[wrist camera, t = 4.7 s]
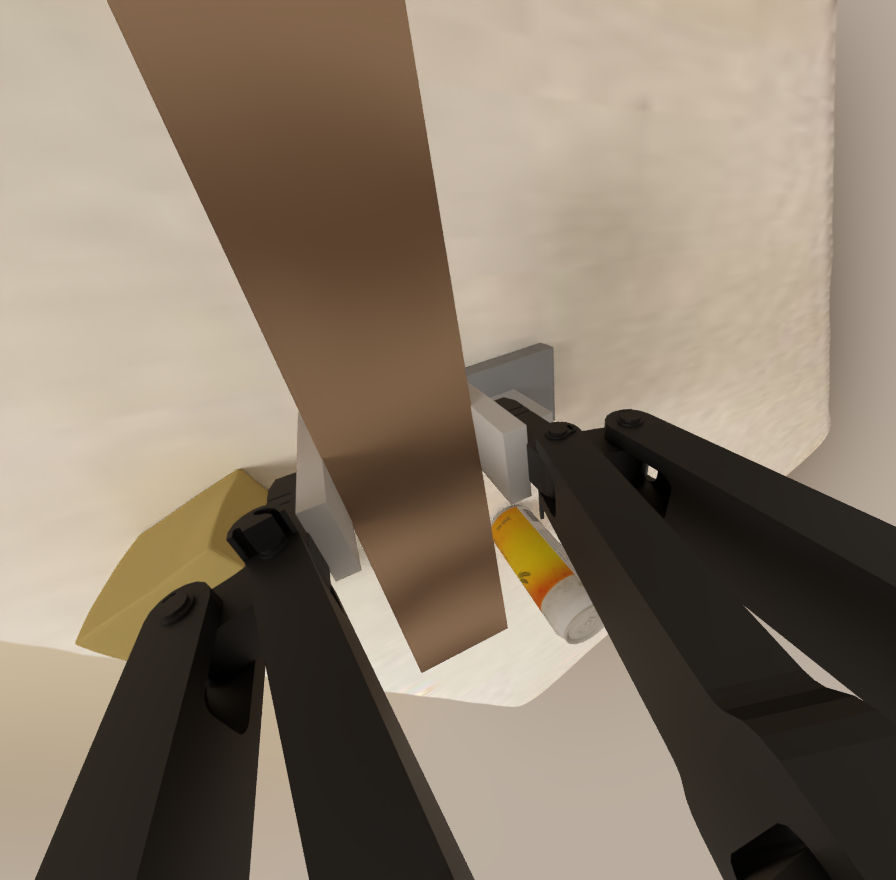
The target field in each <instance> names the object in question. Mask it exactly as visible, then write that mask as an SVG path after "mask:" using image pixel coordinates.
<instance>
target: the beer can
mask: <svg viewBox="0 0 896 880" xmlns="http://www.w3.org/2000/svg"><path fill="white" fill-rule="evenodd" d="M491 529H492V535H493V541H494V543H495V544H496V546H497V547H498V549H499V550H500V551H501V553H502V554H503V556H504V557H505V559H506V560H507V562H508V563H509V565H510V566H511V568H512V569H513V571H514V572H515V574H516V575H517V577H518V578H519V579H520V581H521V582H522V584H523V585H524V587H525V588H526V590H527V591H528V593H529V594H530V596H531V597H532V599H533V600H534V602H535V603H536V605H537V606H538V607H539V609H540V610H541V612H542V613H543V615H544V616H545V618H546V619H547V621H548V622H549V624H550V625H551V627H552V628H553V630H554V631H555V633H556V634H557V635H559V636H560V637H562V638H564V639H565V640H566V641H567V642H568V643H569V644H578V643H581V642H584V641H586V640H588V639H590V638H591V637H593V636H594V635H596V634H597V633H598V632H599V631H600V630H601V629H602V628H603V627H604V625H603V623H602V621H601V619H600V617H599V615H598V613H597V611H596V609H595V607H594V606H593V604H592V602H591V600H590V598H589V596H588V594H587V592H586V590H585V588H584V586H583V584H582V582H581V580H580V579H579V577H578V575H577V573H576V571H575V569H574V567H573V565H572V563H571V561H570V559H569V557H568V555H567V554H566V552H565V550H564V548H563V546H562V545H561V544H560V543H559V542H558V541H557V540H556V539H555V538H554V537H553V535H552V534H551V533H550V532H549V531H548V530H547V529H546V528H545V527H544V525H543V524H542V523H541V522H540V521H539V520H538V519H537V518H536V517H535V516H534V514H533V513H532V512H531V511H530V510H529V509H528V508H526V507H522V506H510V507H507V508H505V509H503V510H502V511H500V512H499V513H498V514H497V515H496V517H495V518H494V520H493V522H492V525H491Z"/></svg>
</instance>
